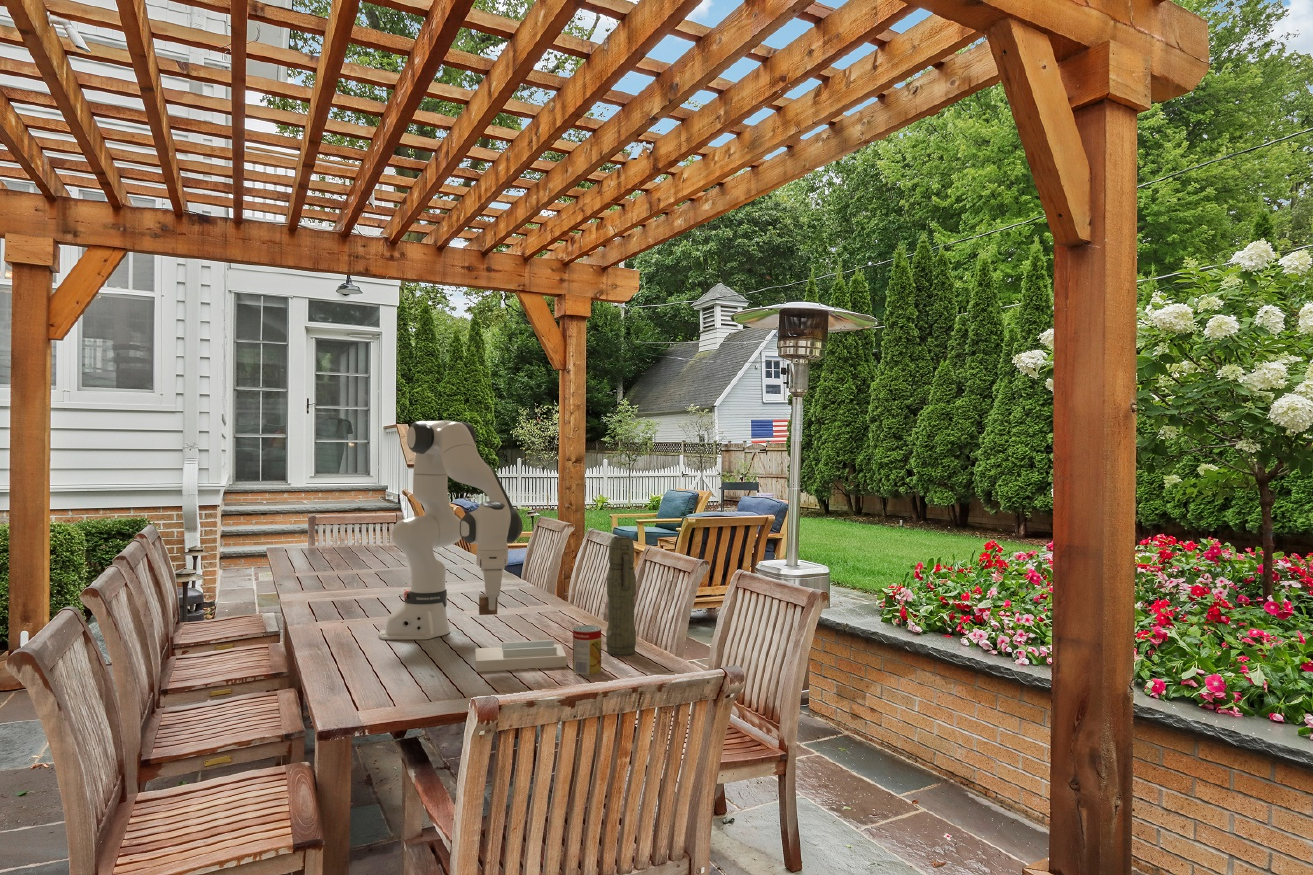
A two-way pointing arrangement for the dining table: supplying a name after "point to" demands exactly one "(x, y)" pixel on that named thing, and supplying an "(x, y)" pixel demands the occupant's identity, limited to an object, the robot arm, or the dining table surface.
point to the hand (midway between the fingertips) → (491, 607)
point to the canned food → (587, 650)
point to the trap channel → (520, 656)
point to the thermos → (621, 598)
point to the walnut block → (486, 605)
